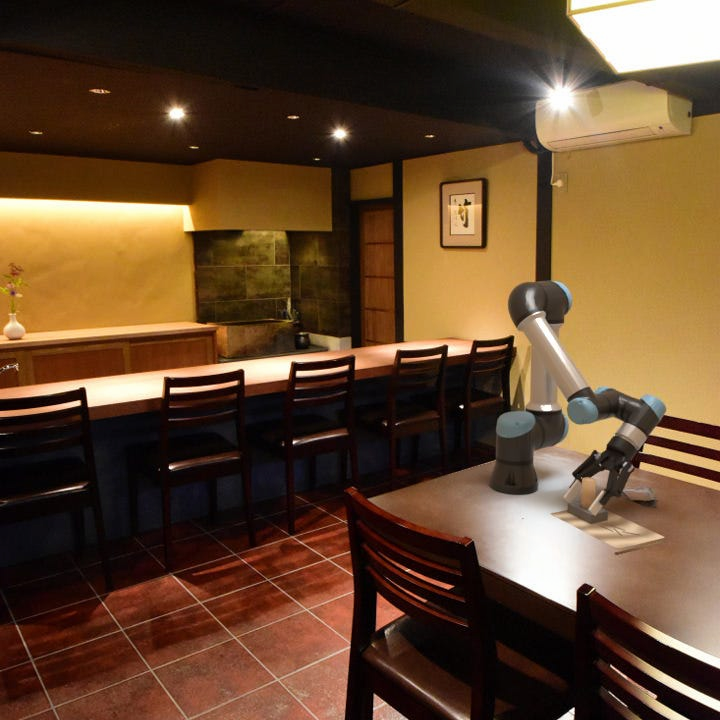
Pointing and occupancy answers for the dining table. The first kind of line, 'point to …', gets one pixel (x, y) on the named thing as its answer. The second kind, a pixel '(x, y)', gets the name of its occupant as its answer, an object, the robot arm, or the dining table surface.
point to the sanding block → (587, 503)
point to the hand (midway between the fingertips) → (578, 506)
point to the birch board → (614, 531)
